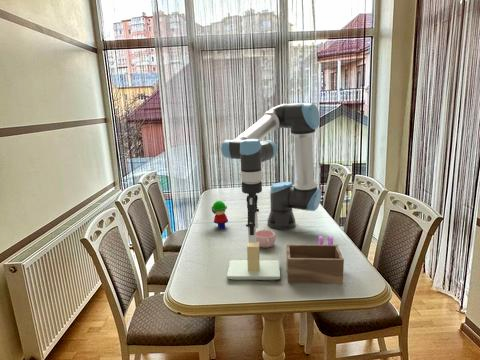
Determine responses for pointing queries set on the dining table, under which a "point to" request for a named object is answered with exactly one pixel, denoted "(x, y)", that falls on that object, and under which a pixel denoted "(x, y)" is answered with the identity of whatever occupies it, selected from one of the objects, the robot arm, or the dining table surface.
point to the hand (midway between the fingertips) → (253, 234)
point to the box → (314, 264)
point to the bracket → (330, 240)
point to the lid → (253, 266)
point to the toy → (220, 214)
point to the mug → (265, 238)
